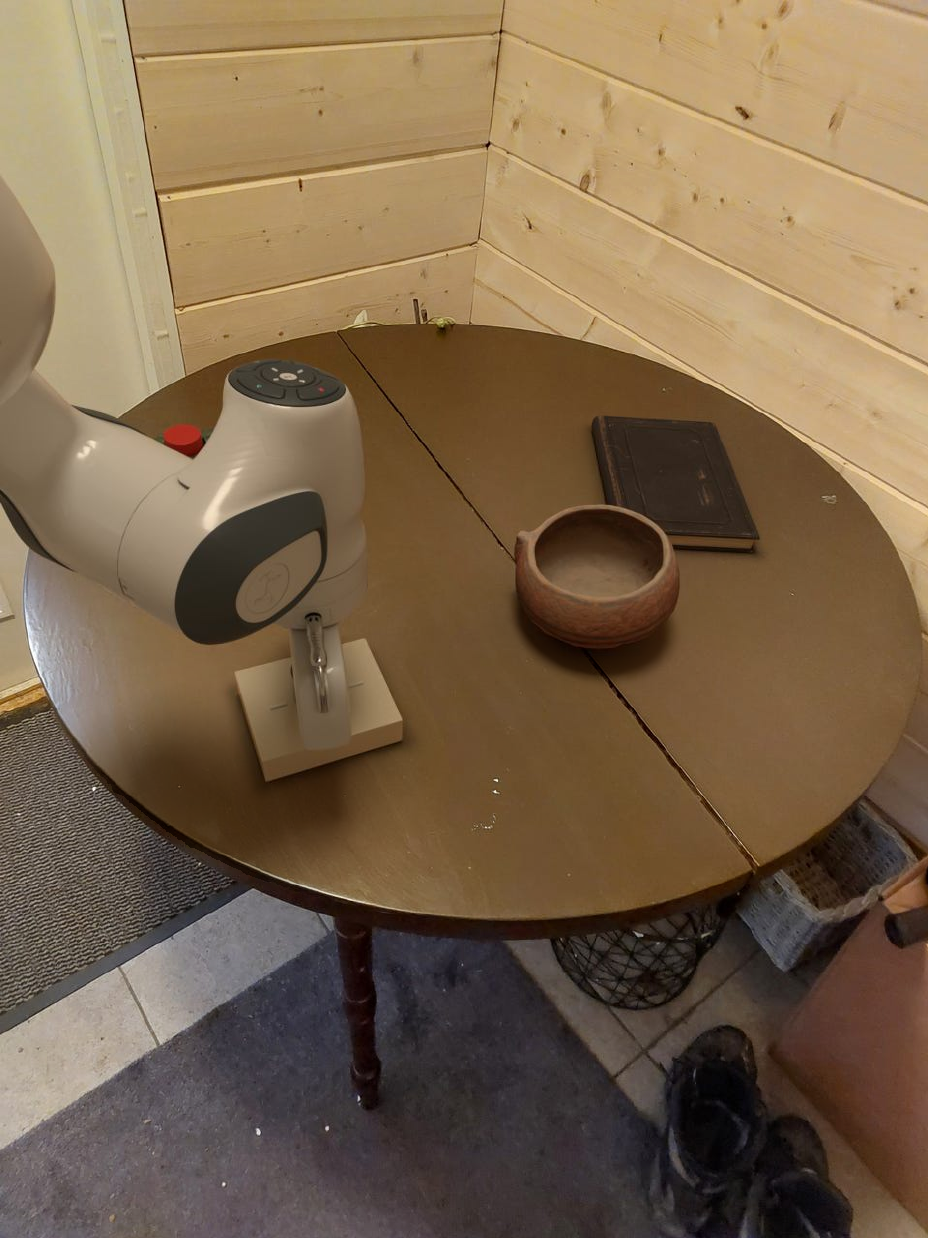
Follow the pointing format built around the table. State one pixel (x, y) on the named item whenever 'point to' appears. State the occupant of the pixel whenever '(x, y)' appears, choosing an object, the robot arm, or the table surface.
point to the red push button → (184, 439)
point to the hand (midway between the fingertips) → (318, 690)
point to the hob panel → (278, 718)
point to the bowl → (597, 576)
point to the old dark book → (675, 480)
